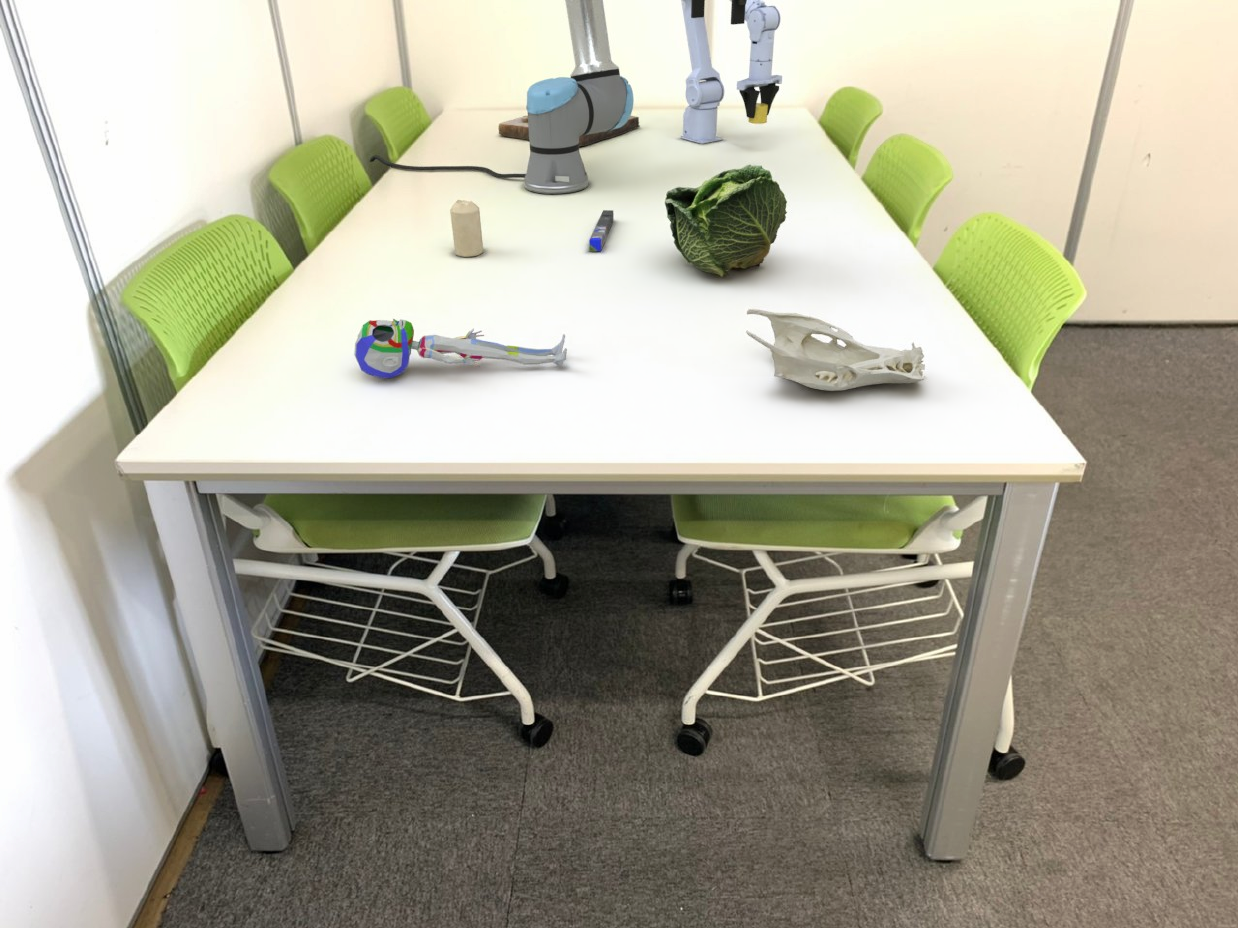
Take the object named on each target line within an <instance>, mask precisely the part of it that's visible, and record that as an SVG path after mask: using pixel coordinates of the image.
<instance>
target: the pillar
mask: <svg viewBox="0 0 1238 928" xmlns="http://www.w3.org/2000/svg"><path fill="white" fill-rule="evenodd" d="M614 216H615V215H614V210H613V209H612V210H611V209H602V212H601V214H600V216H599V219H598V221H597V222H596V225H595V227H594V229H593V231H592V234H591V236H590V237H589V241H588V243H589V244H588V245H589V246H588V247H589V248H588V250H589V252H601V251H602V249H603V247H604V245H605V242H606V239H607V237H608V235H609V232H610V231H611V228H612V226H613V223H614Z"/></svg>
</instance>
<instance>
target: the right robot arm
mask: <svg viewBox="0 0 1238 928" xmlns="http://www.w3.org/2000/svg"><path fill="white" fill-rule="evenodd" d="M691 1H692V0H680V2H681V3H680V4H681V9H682V17H683V21H684V22H683V23H684V28H685V33H686V34H685V35H686V41H687V46H688V53H689V60H690V65H691V67H690V68H691V72H690V74H689V75H688V76H687V77H686V79H685V86H686V87H685V99H686V102H687V104H688V106H686V108H685V109H684V111H683V116H682V118H683V119H682V136H681V135H680V139H681V140H684V141H685V140H686V141H689V142H692V143H693V142H694V143H697V144H702V145H704V144H709V143H713V142H718V141H719V142H720V141H722V140H723V139H724V138H723V137H721V136H717V130H718V129H717V127H718V107H720V106H721V105H720V103H721V102H722V101H723V99H724V96H725V86H724V84H723V81H722V80H721V75H720V72H719V71H717V70H716V69H715V68H714V67H713V65H712V57H711V52H710V45H709V38H708V31H707V25H706V20H705V19H706V18H705V16H704V17H701V18H691ZM729 1H730V2H731V3H732V0H729ZM745 22H746V26H747V29H748V32H749V40H750V51H749V52H750V53H749V68H748V77H747V78H744V79H741V80H737V81H736V90H737V91H738V90H739V94H740V96H741V98H742V102H743V105H744V109H745V114H746V118H748V119H749V118H754V116H755V110H756V103H758V98H759V95H760V103H764V104H767V105H768V110H767V116H769V115H770V111H771V108H772V105H773V102H774V100H775V98H776V95H777V94H778V92H779V91H780V86H779V85H781V84H783V75H779V74H774V75H772V71H773V58H774V44H775V32H776V31H777V30H778V29H779V27H780V24H781V14H780V11H779V9H778V8H777V7H776V5H766V2H765V1H764V0H747V2H746V5H745ZM756 88H758V89H759V90H757V89H756Z"/></svg>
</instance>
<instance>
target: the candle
mask: <svg viewBox="0 0 1238 928" xmlns="http://www.w3.org/2000/svg"><path fill="white" fill-rule="evenodd" d="M449 212H450V213H449V214H450V222H451V228H452V231H451V232H452V239H453V247H454V253H455V255H457V256H459V257H465V258H466V257H467V258H468V257H475V256H479V255H481V254H483V252H484V242H483V234H482V233H483V232H482V231H483V230H482V222H481V221H482V220H481V212H480V207H479V205H478V204H476V203H475V202H474V201H472V200H470V201H468V200H465V199H464V200H462V199H457V200H456V201H455V202H454V203H453V205H452V206H451V207H450V209H449Z"/></svg>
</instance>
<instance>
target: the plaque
mask: <svg viewBox="0 0 1238 928" xmlns="http://www.w3.org/2000/svg"><path fill="white" fill-rule="evenodd" d="M640 126H641V125H640V117H639V116H636V115H631V116H630V117H629V119H628V121H627V122H626V123H625V124H624V125H623V126H622V127H620V128H617V129H613V130H611V131H607V132H599V133H594V134H588V135H583V136H579V148H580V147H584V146H588V145H591V144H594V143H598V142H600V141H603V140H606V139H611V138H614V137H616V136H621V135H623V134H626V133H628V132H631V131H632V130H635V129H638V128H640ZM498 135H500V136H503V137H507V138H514V139H521V140H527V141H529V127H528V114H527V115H522V116H519V117H515V118H513V119H508V120H506V121H502V122H500V123H498Z"/></svg>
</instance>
